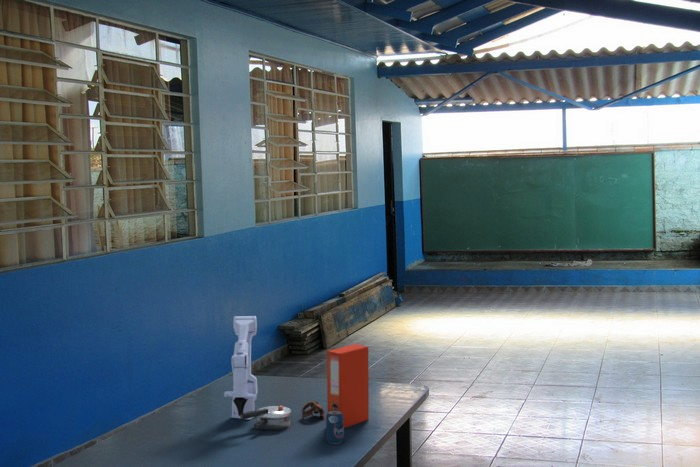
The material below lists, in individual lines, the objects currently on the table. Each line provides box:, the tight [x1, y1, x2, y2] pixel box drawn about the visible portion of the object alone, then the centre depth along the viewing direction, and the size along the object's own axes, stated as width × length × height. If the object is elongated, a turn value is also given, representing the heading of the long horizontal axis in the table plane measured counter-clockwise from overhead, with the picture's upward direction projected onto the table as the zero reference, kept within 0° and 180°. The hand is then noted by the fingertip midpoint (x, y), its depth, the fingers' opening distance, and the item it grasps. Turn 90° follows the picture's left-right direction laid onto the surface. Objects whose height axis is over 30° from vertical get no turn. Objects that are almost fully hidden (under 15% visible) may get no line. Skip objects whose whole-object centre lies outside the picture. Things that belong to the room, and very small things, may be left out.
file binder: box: [326, 343, 370, 429], centre depth 355 cm, size 8×17×32 cm, turn 137°
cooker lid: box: [240, 405, 292, 420], centre depth 352 cm, size 22×15×2 cm, turn 124°
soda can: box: [325, 410, 345, 445], centre depth 332 cm, size 7×7×12 cm
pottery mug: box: [301, 400, 326, 420], centre depth 365 cm, size 12×10×8 cm
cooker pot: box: [253, 414, 291, 431], centre depth 352 cm, size 24×14×5 cm, turn 156°
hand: (240, 415), depth 347 cm, fingers closed, pressing on cooker lid
